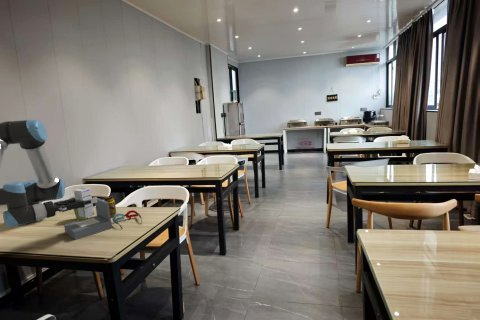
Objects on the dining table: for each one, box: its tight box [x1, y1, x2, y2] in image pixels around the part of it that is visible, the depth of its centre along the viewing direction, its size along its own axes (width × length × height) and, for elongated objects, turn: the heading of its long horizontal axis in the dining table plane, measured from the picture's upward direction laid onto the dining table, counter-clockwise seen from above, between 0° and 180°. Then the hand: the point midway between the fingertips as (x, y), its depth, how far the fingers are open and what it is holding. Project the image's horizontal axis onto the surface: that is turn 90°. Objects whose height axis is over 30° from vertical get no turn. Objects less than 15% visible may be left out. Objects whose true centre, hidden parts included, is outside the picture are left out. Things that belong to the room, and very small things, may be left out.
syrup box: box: [73, 187, 95, 219], centre depth 159 cm, size 6×6×14 cm
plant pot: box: [73, 209, 89, 221], centre depth 181 cm, size 9×9×9 cm
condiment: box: [103, 195, 119, 219], centre depth 180 cm, size 7×8×12 cm
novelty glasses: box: [112, 209, 143, 230], centre depth 168 cm, size 14×15×5 cm
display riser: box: [63, 197, 113, 240], centre depth 161 cm, size 16×18×14 cm
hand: (93, 198), depth 162 cm, fingers closed on syrup box, 7 cm apart
